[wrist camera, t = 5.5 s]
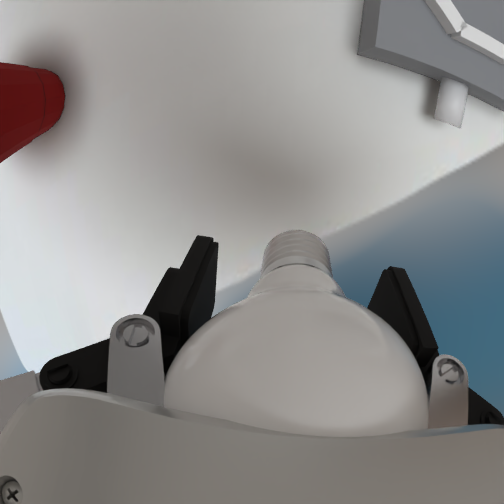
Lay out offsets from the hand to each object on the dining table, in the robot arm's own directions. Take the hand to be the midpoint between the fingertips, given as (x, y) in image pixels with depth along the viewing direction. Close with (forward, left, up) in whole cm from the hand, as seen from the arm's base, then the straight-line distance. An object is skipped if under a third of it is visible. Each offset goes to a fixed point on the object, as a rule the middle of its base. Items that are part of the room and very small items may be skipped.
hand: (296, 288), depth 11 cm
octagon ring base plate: (-16, +9, -13) cm, 23 cm away
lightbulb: (0, 0, -3) cm, 3 cm away
